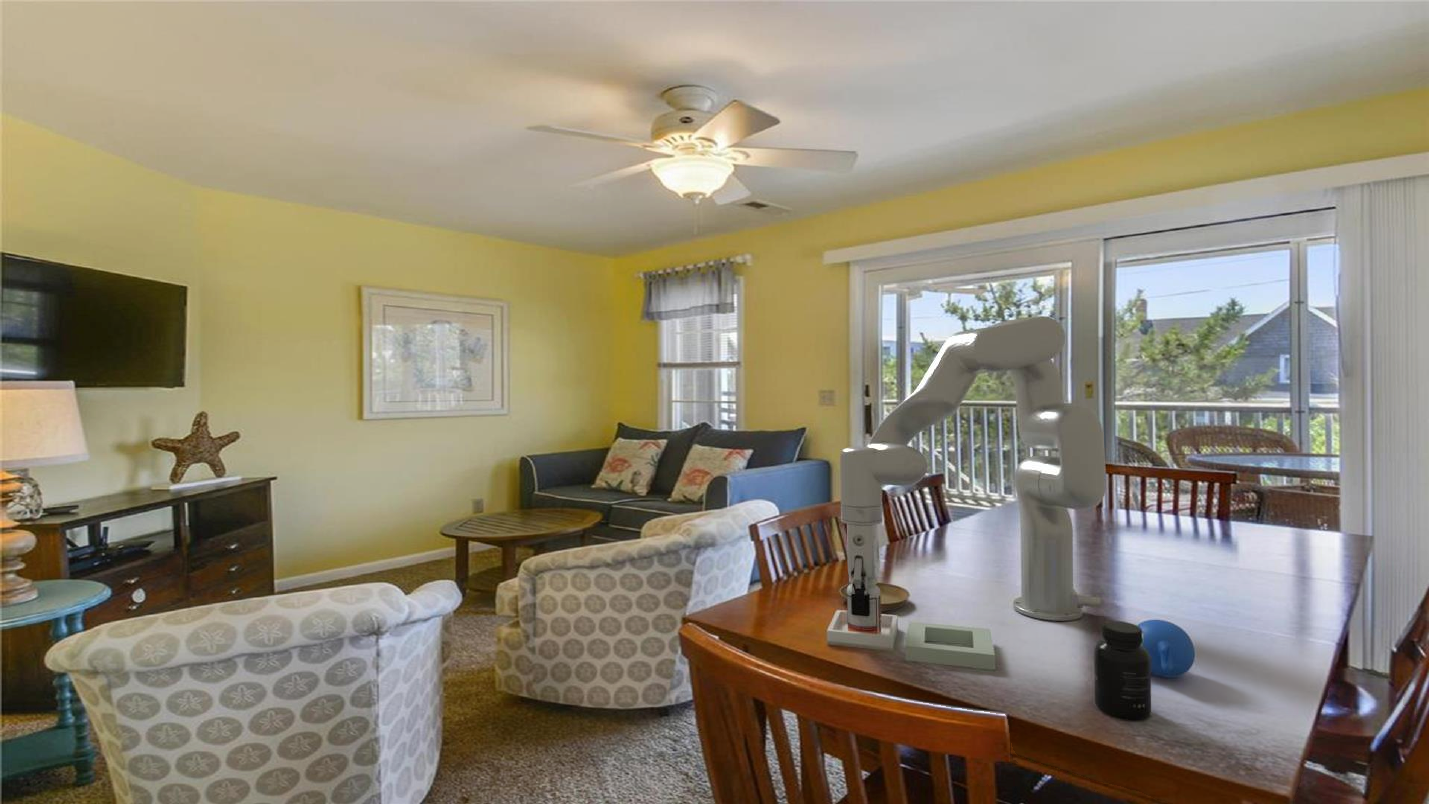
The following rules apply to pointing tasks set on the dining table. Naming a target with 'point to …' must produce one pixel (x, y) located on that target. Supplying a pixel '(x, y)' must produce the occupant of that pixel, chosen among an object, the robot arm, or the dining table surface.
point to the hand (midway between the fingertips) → (863, 607)
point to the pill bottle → (874, 619)
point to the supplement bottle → (1122, 672)
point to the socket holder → (950, 655)
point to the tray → (843, 637)
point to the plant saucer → (886, 595)
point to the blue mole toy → (1167, 648)
